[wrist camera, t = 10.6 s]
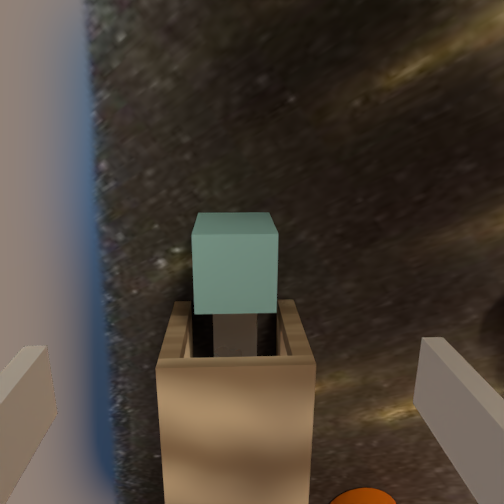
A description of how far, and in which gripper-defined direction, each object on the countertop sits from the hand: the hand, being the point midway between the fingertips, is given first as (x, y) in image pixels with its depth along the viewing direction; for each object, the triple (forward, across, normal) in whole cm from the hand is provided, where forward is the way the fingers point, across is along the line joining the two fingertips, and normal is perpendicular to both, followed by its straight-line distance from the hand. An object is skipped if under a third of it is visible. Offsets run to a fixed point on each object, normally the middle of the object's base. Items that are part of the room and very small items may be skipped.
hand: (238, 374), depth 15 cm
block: (+17, 0, 0) cm, 17 cm away
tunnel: (+17, 0, -10) cm, 20 cm away
